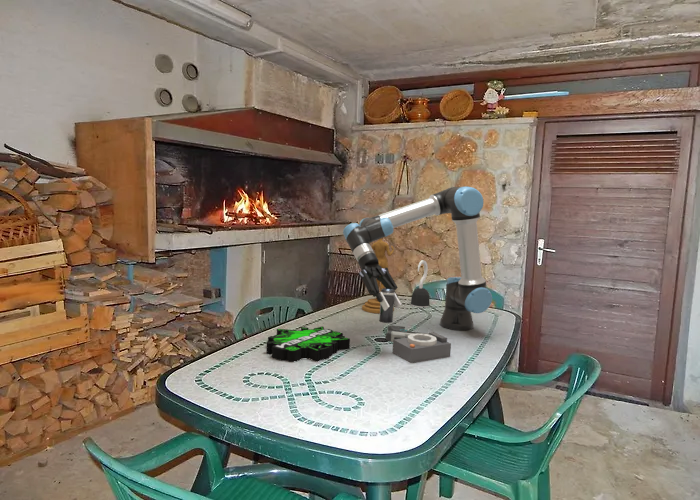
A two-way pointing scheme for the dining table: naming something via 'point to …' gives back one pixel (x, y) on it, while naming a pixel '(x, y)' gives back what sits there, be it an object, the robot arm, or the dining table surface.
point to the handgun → (398, 333)
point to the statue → (373, 304)
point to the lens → (389, 296)
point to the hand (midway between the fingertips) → (392, 307)
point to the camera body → (422, 347)
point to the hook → (421, 290)
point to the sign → (306, 344)
